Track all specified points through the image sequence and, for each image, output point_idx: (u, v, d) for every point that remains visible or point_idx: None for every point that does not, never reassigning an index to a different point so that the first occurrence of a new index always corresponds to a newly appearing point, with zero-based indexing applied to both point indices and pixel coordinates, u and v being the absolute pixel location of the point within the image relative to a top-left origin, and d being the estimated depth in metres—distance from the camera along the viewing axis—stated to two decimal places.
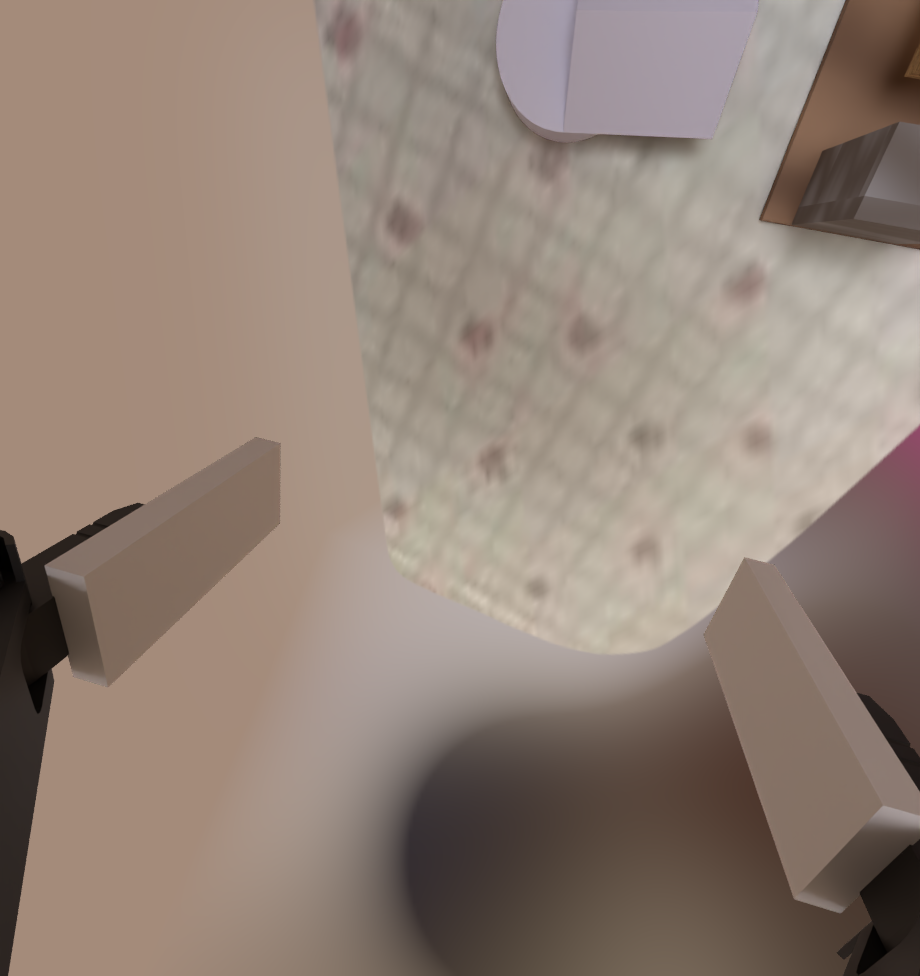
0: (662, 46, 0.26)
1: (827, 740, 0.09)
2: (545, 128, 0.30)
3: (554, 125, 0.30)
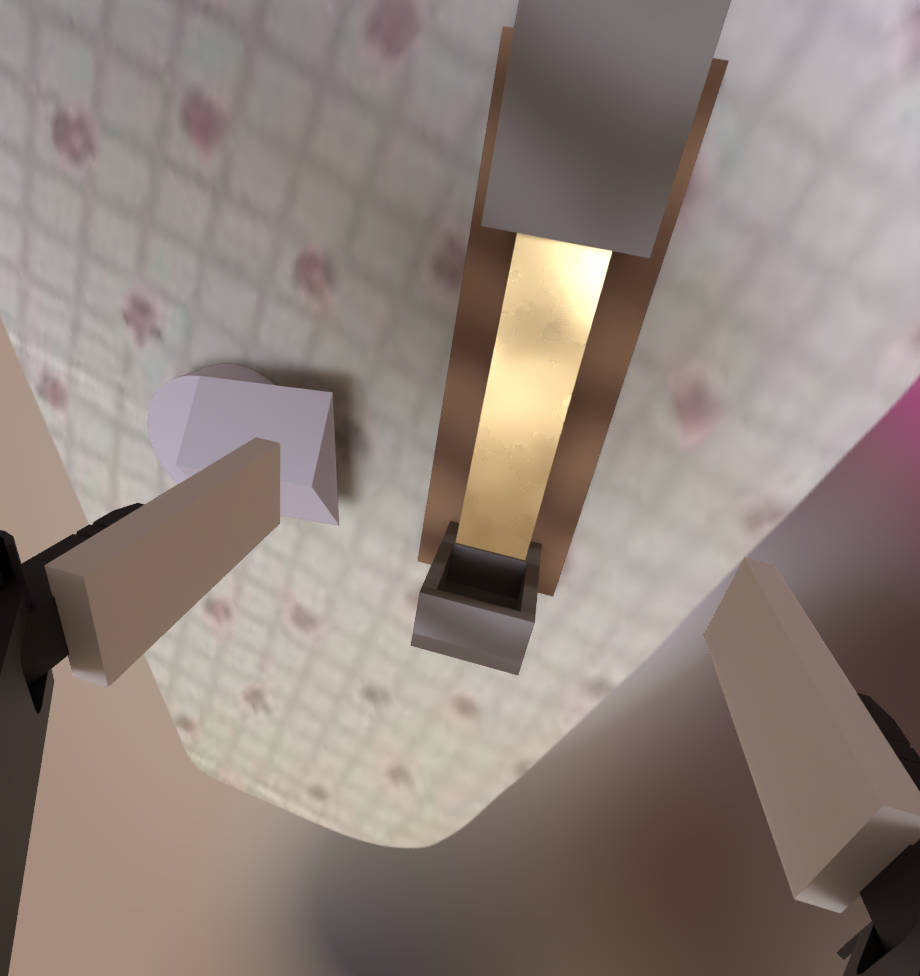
0: None
1: (827, 740, 0.09)
2: None
3: None
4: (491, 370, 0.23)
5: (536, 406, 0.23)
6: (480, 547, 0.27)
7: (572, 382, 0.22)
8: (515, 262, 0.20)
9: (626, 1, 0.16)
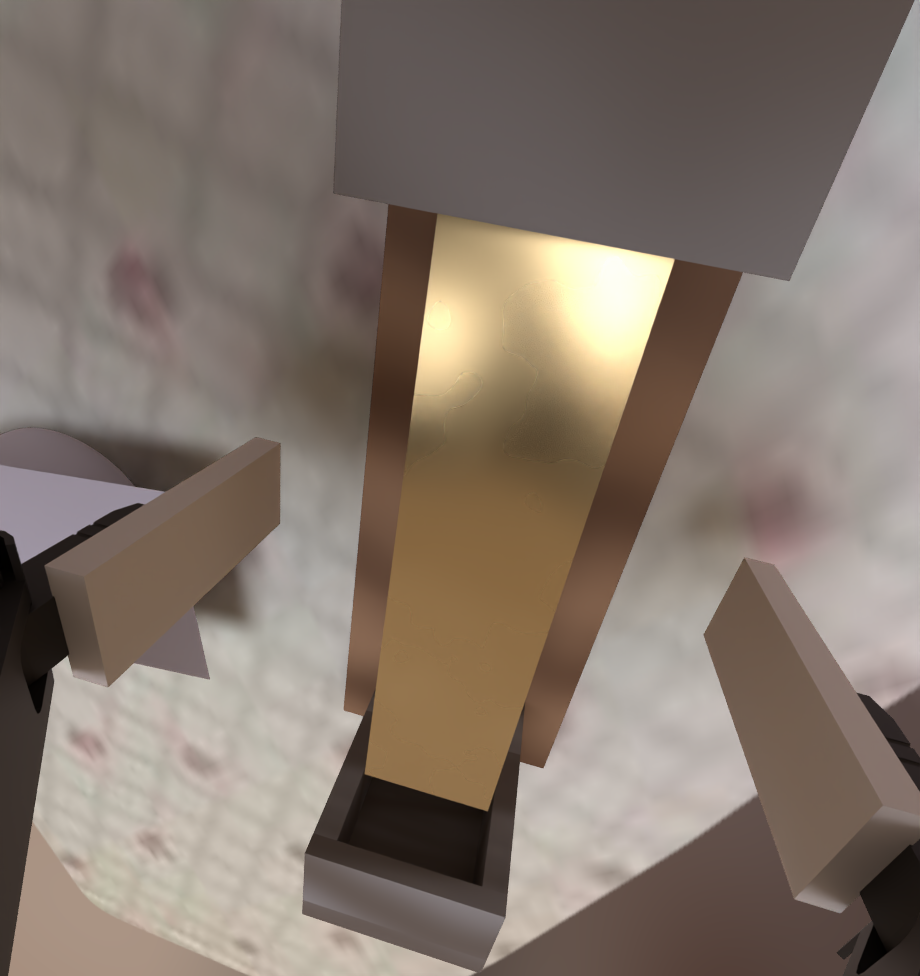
0: None
1: (827, 740, 0.09)
2: None
3: None
4: (402, 508, 0.11)
5: (499, 578, 0.11)
6: (408, 785, 0.15)
7: (573, 540, 0.10)
8: (438, 285, 0.09)
9: None
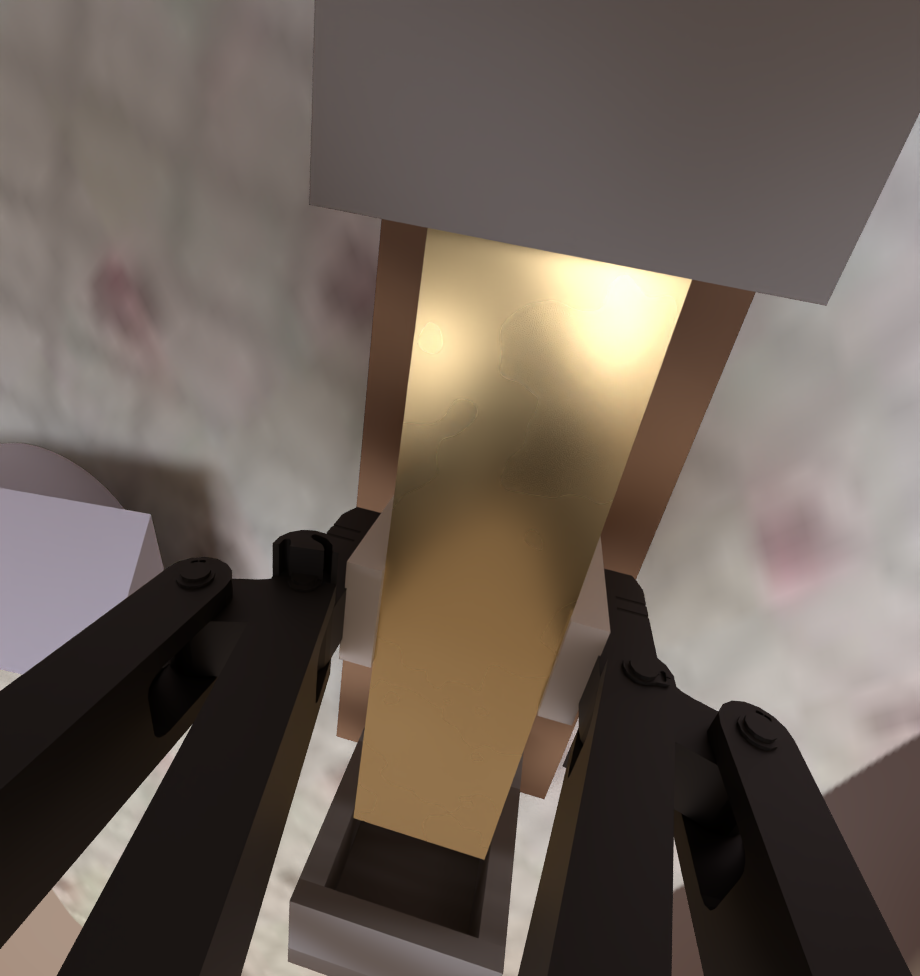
0: None
1: None
2: None
3: None
4: (391, 543, 0.10)
5: (496, 619, 0.10)
6: (399, 830, 0.14)
7: (577, 580, 0.09)
8: (428, 305, 0.08)
9: None
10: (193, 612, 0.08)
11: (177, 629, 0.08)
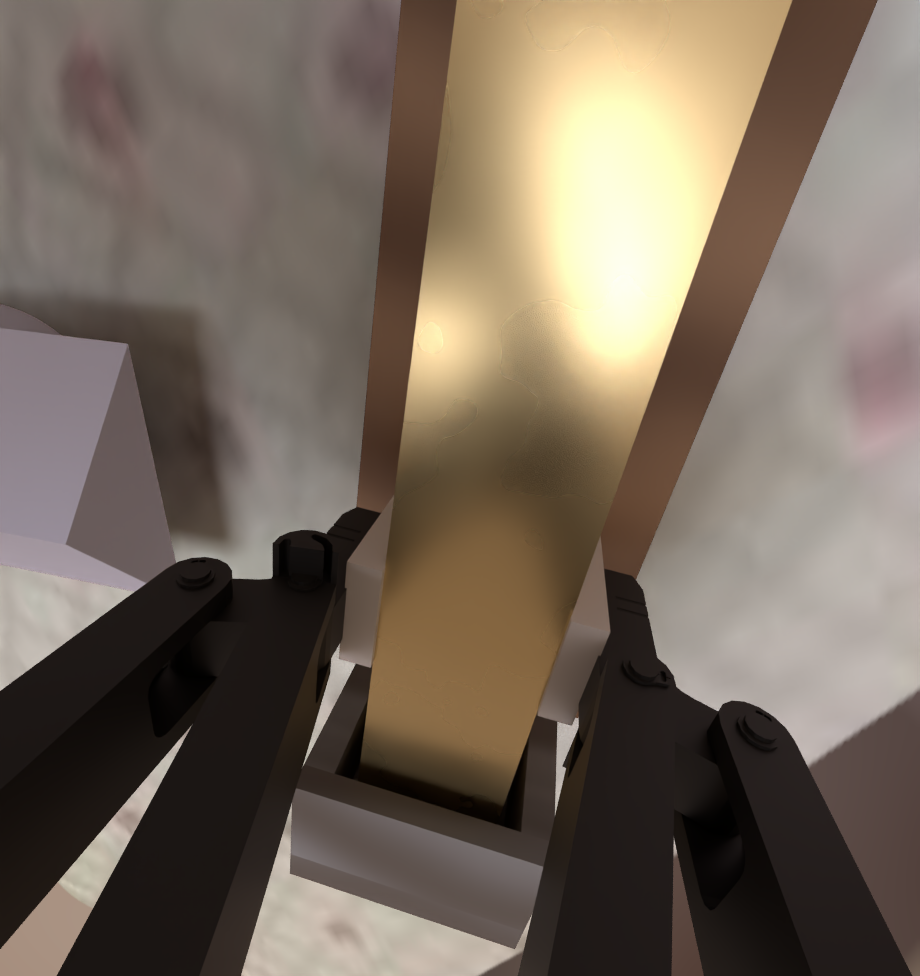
0: None
1: None
2: None
3: None
4: (391, 543, 0.10)
5: (496, 619, 0.10)
6: None
7: (577, 580, 0.09)
8: (428, 304, 0.08)
9: None
10: (193, 612, 0.08)
11: (177, 629, 0.08)
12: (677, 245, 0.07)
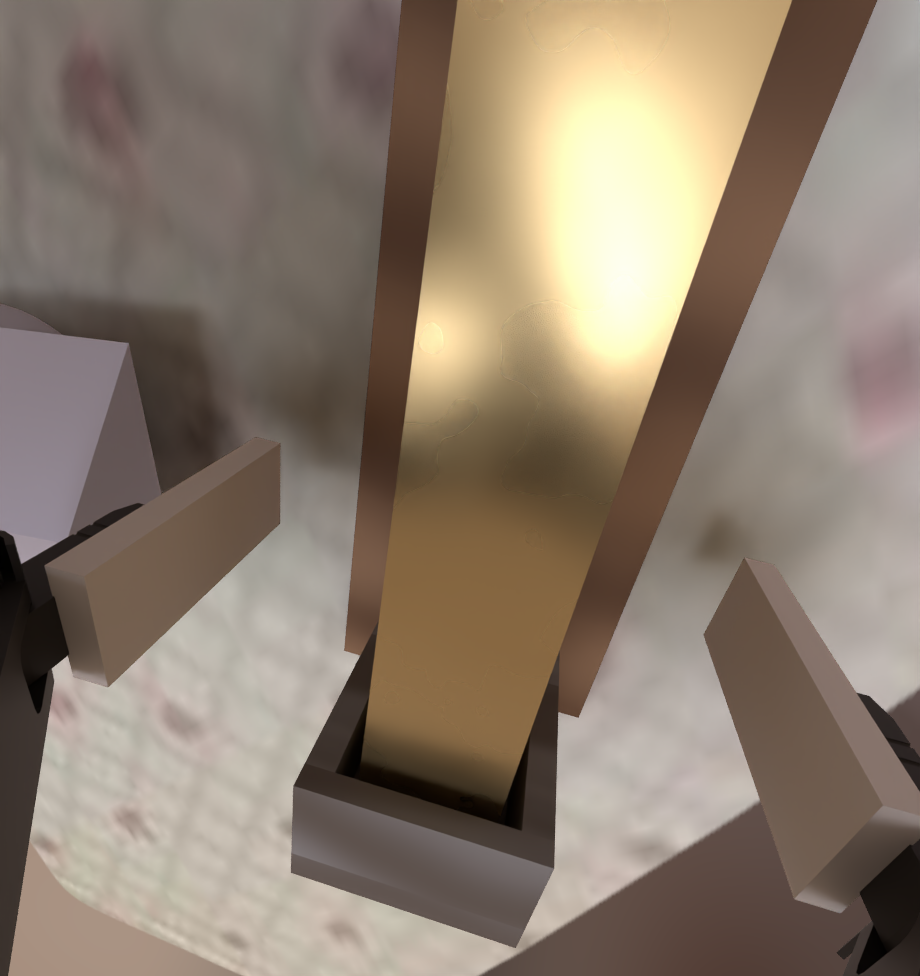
0: None
1: (827, 740, 0.09)
2: None
3: None
4: (392, 543, 0.10)
5: (497, 618, 0.10)
6: None
7: (577, 580, 0.09)
8: (429, 305, 0.08)
9: None
10: None
11: None
12: (677, 246, 0.07)
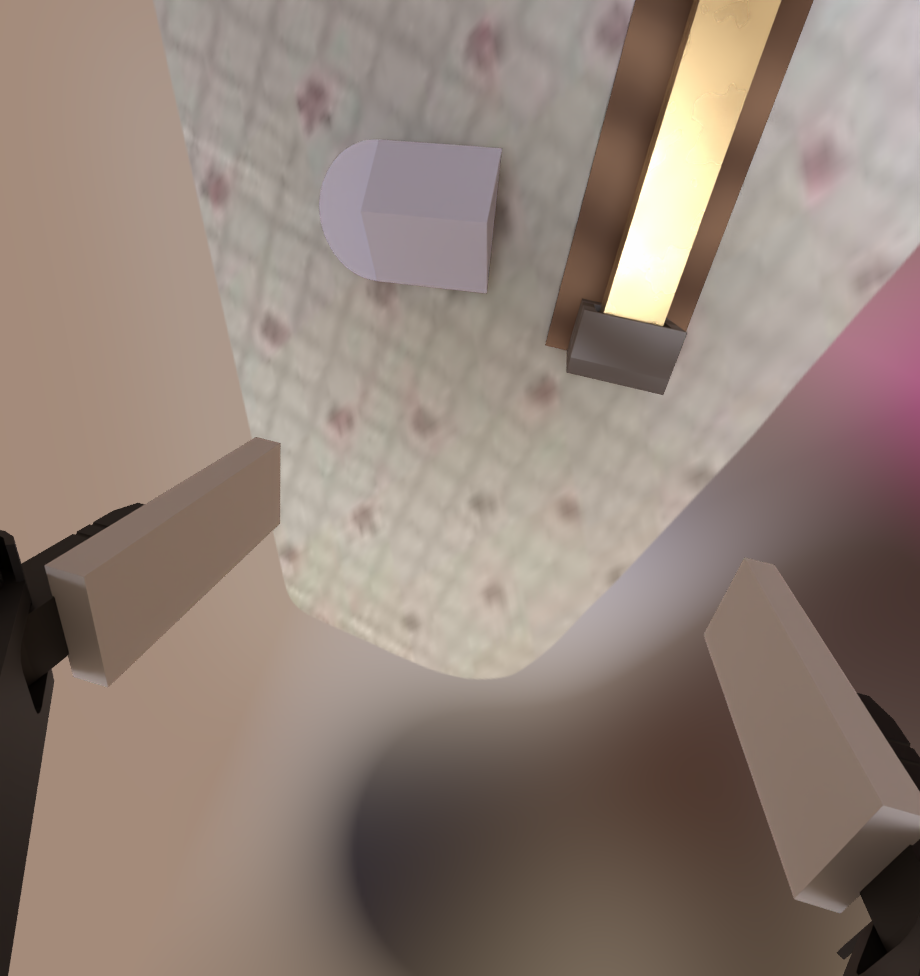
0: (428, 236, 0.34)
1: (827, 740, 0.09)
2: (363, 277, 0.38)
3: (370, 275, 0.38)
4: (642, 191, 0.29)
5: (675, 221, 0.29)
6: None
7: (707, 198, 0.29)
8: (673, 95, 0.27)
9: None
10: None
11: None
12: (747, 74, 0.26)
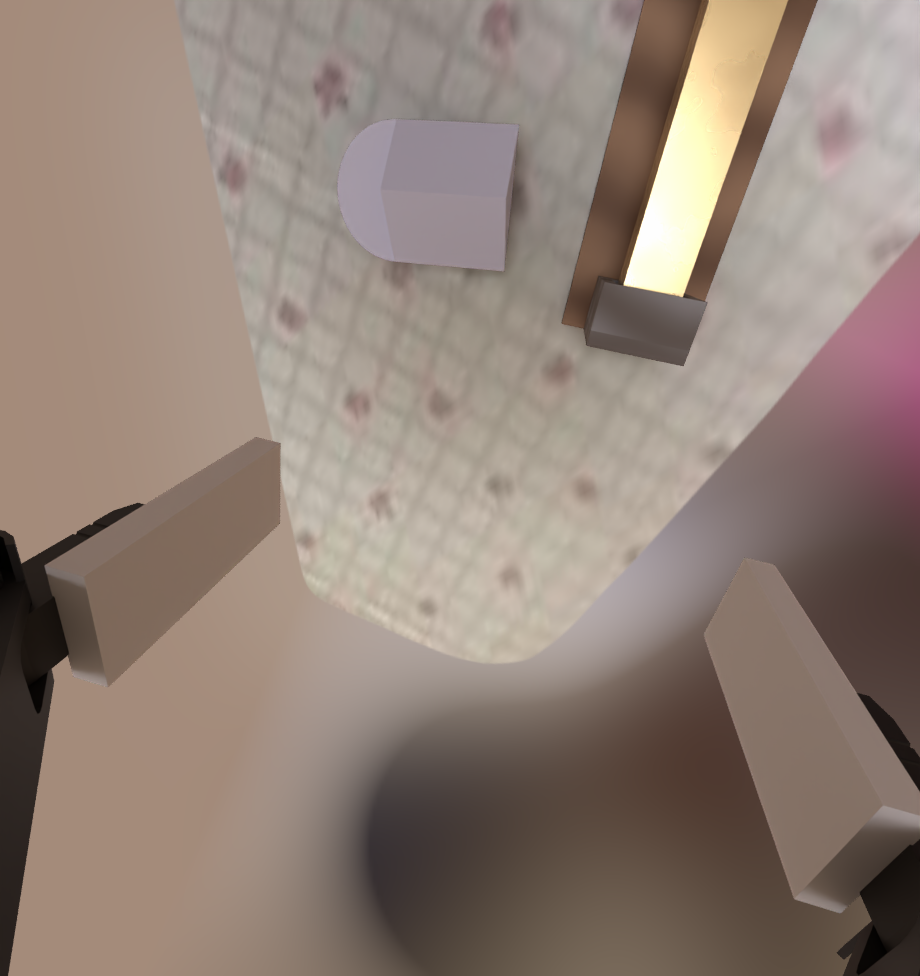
0: (447, 213, 0.34)
1: (827, 740, 0.09)
2: (381, 258, 0.39)
3: (388, 256, 0.39)
4: (662, 161, 0.29)
5: (695, 191, 0.30)
6: None
7: (726, 167, 0.29)
8: (693, 64, 0.27)
9: None
10: None
11: None
12: (767, 40, 0.26)
